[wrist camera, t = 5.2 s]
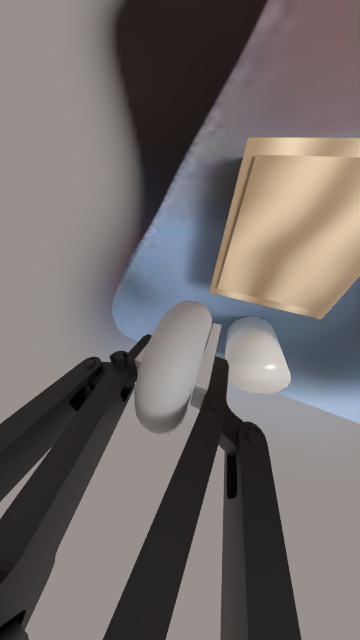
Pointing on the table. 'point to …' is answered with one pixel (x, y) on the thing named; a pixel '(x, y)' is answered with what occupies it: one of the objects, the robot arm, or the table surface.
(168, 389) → the donut
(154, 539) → the robot arm
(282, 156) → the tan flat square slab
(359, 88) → the table surface
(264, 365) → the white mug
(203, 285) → the table surface
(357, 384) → the table surface
